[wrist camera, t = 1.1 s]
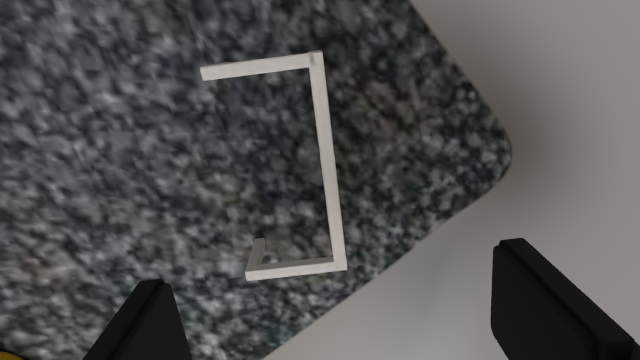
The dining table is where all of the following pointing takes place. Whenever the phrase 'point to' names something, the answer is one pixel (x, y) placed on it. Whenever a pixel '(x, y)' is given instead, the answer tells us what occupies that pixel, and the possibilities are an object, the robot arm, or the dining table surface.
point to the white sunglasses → (326, 155)
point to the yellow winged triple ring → (9, 356)
